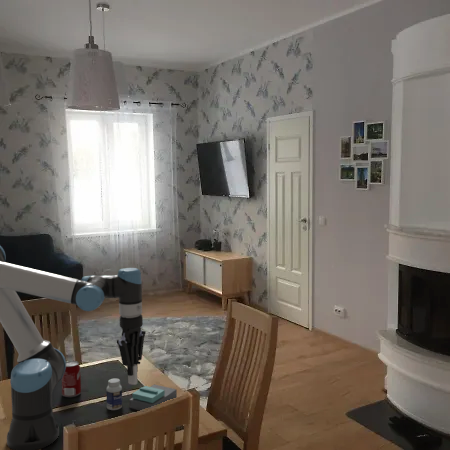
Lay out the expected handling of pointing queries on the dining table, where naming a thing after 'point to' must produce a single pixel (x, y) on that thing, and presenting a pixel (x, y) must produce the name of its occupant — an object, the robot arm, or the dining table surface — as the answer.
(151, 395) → the teal ridged square block
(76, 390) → the soda can
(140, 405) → the socket block
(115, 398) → the pill bottle
